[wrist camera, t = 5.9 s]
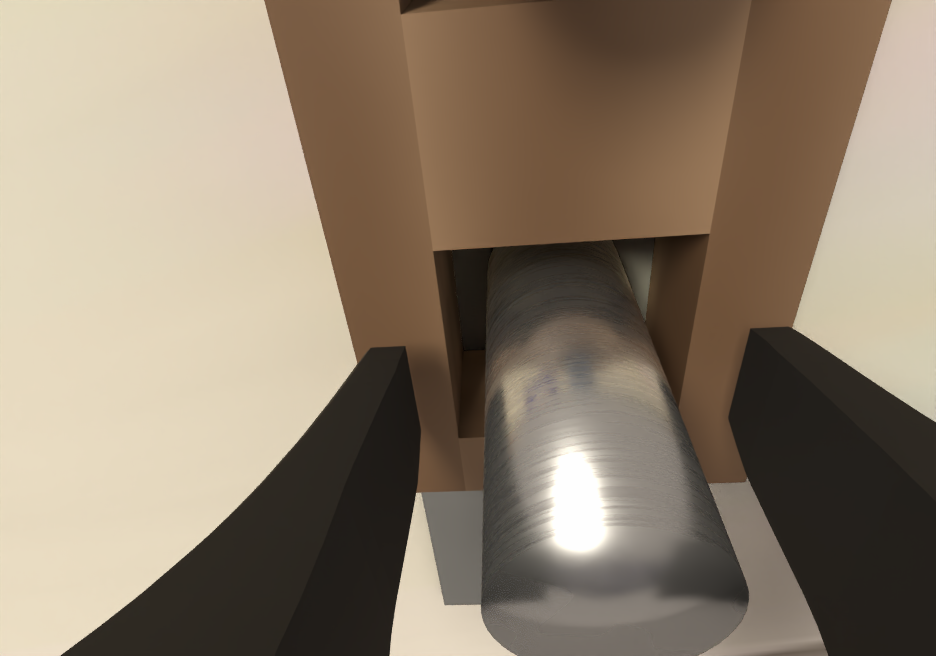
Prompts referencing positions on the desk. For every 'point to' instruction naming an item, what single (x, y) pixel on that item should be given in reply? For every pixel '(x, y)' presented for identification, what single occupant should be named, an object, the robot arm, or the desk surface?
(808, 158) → the walnut hole block
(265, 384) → the desk surface
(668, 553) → the steel pin
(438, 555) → the rubber mat
